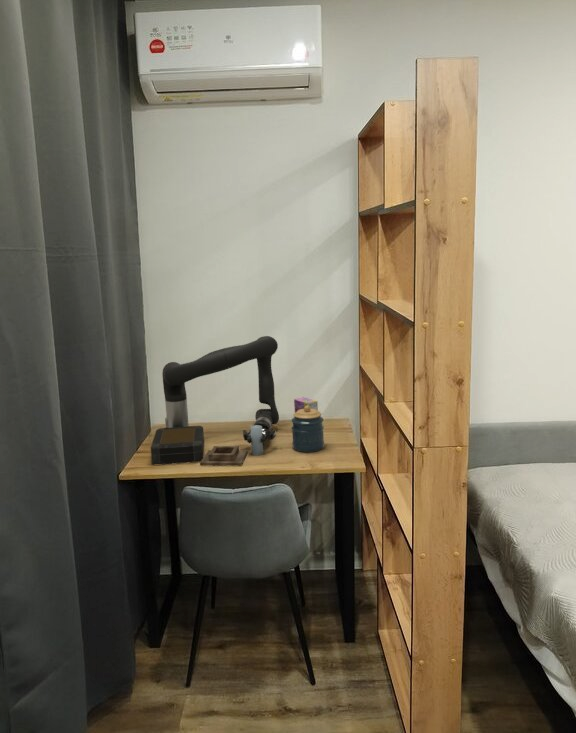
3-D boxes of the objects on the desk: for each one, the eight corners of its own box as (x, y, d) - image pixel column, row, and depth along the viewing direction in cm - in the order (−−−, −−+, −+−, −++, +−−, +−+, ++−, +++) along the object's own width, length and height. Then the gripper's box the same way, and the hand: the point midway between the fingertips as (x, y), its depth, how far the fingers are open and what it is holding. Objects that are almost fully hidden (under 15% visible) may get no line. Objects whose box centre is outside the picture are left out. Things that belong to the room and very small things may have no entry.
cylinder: (250, 455, 242) (249, 428, 240) (252, 451, 246) (251, 425, 244) (262, 455, 241) (261, 428, 239) (263, 451, 246) (262, 425, 244)
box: (294, 423, 281) (293, 398, 279) (304, 421, 285) (303, 396, 282) (308, 428, 273) (308, 403, 271) (318, 426, 277) (317, 400, 274)
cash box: (156, 445, 259) (154, 428, 257) (204, 442, 261) (203, 424, 259) (150, 466, 234) (148, 447, 233) (203, 462, 237) (201, 443, 235)
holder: (200, 465, 232) (199, 456, 232) (208, 453, 246) (207, 444, 245) (241, 465, 231) (240, 456, 230) (247, 453, 244) (247, 444, 243)
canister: (322, 453, 241) (321, 410, 238) (290, 452, 243) (288, 410, 240) (325, 442, 254) (324, 401, 250) (295, 441, 256) (293, 401, 252)
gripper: (244, 419, 256) (237, 432, 240) (278, 419, 255) (273, 431, 238) (245, 436, 258) (238, 450, 241) (279, 436, 257) (274, 450, 240)
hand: (255, 441), depth 240 cm, fingers closed on cylinder, 4 cm apart
